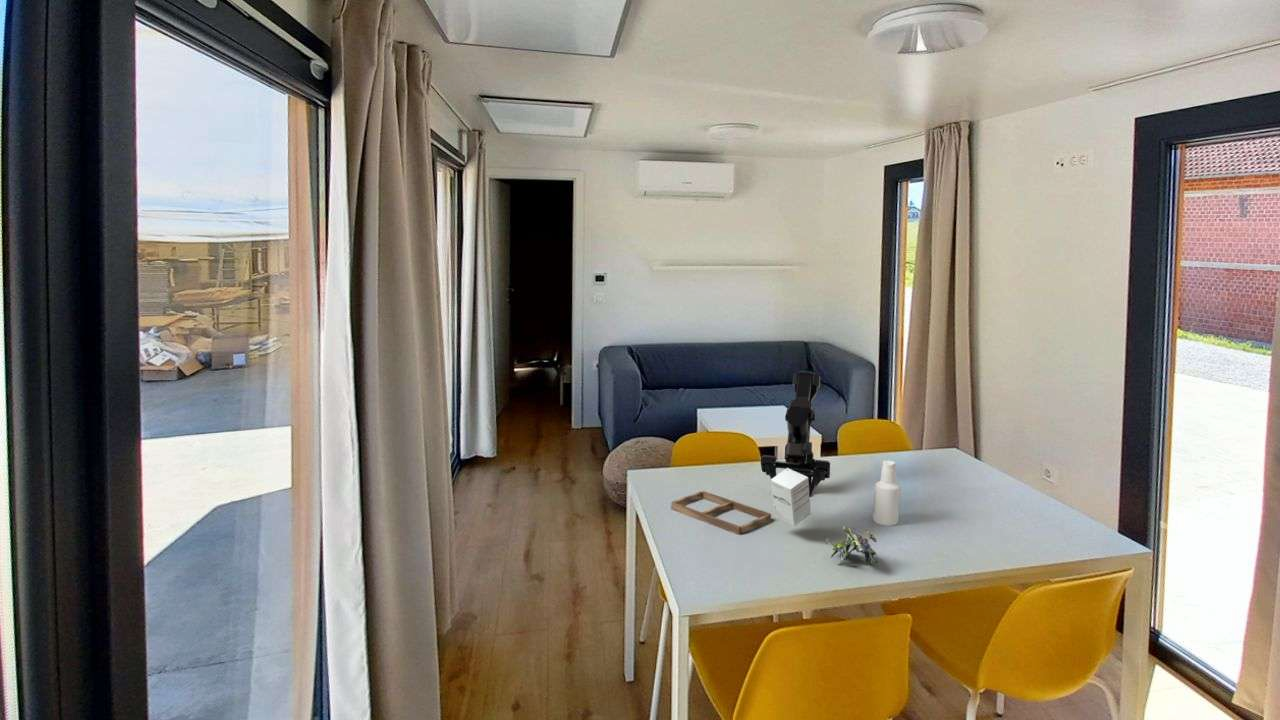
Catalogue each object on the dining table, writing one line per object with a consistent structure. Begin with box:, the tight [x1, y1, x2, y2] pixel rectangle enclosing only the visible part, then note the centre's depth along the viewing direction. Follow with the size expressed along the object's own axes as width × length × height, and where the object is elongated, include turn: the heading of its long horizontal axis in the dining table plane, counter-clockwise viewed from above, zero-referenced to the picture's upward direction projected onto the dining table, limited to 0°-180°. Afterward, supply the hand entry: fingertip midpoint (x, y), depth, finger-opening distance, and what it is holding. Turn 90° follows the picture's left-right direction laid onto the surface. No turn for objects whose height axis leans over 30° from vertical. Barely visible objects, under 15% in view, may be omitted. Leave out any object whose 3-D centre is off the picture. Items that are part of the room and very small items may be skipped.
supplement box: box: [770, 468, 812, 527], centre depth 187 cm, size 7×7×13 cm
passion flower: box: [825, 526, 879, 567], centre depth 172 cm, size 11×11×12 cm
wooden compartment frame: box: [670, 490, 772, 535], centre depth 204 cm, size 15×27×2 cm, turn 43°
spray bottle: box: [872, 459, 901, 527], centre depth 198 cm, size 7×7×18 cm
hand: (792, 494), depth 187 cm, fingers closed on supplement box, 9 cm apart
